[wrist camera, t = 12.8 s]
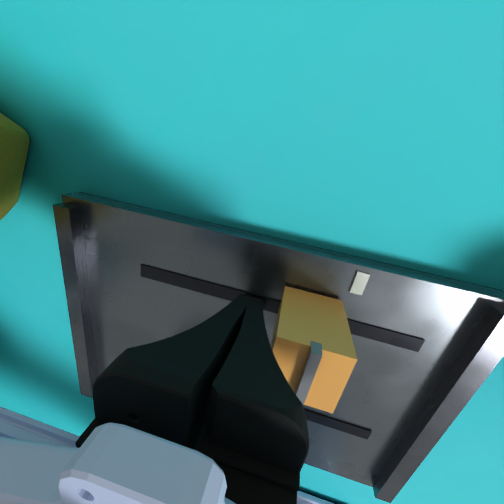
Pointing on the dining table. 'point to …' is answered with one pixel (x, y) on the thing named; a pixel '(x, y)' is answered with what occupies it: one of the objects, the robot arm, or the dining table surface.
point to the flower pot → (11, 162)
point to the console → (270, 291)
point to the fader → (313, 347)
